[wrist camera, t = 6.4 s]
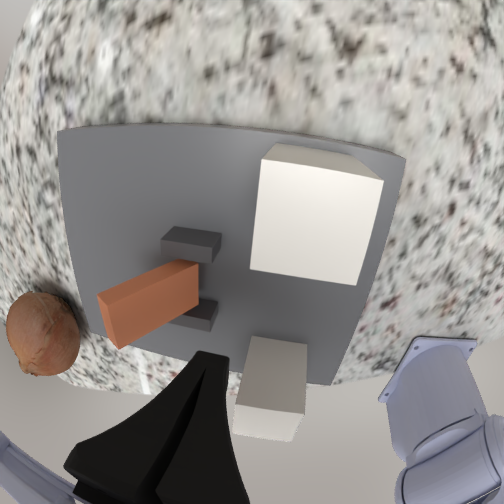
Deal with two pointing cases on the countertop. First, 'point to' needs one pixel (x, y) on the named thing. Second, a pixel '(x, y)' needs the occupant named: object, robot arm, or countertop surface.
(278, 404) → the far plug
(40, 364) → the onion
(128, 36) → the countertop surface
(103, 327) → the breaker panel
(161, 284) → the bar
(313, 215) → the near plug
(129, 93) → the countertop surface
